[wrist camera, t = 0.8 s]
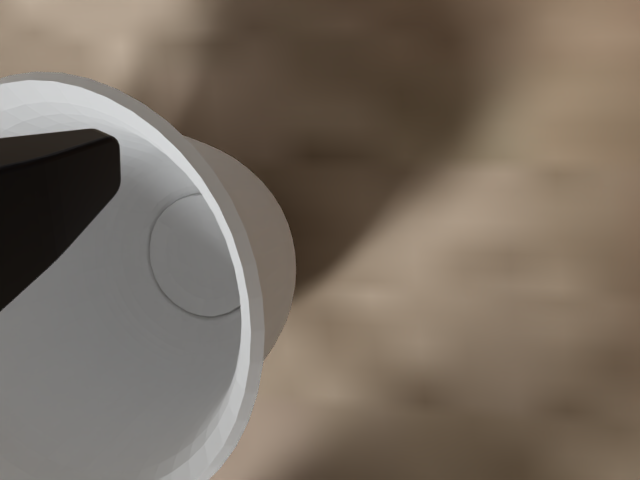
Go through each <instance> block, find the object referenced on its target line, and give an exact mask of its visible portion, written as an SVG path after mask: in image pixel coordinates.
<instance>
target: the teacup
mask: <svg viewBox="0 0 640 480" xmlns="http://www.w3.org/2000/svg"><path fill="white" fill-rule="evenodd" d="M89 128H94V129H98V130H100V131H102V132H105V133H107V134H109V135H111V136H113V137H115V138H116V139H117V140H118V142H119V145H120V162H121V184H120V187H119V190H118V192H117V193H116V195H115V196H114V197H113V199H112V200H111V201H110V202H109V203H108V204H107V205H106V206H105V207H104V209H103V210H102V211H101V212H100V213H99V214H98V215H97V216H96V218H95V219H94V220H93V221H92V222H91V223H90V224H89V225H88V227H87V228H86V229H85V230H84V231H83V232H82V233H81V234H80V235H79V237H78V238H77V239H76V240H75V241H74V242H73V243H72V244H71V246H70V247H69V248H68V249H67V250H66V251H65V252H64V253H63V254H62V255H61V256H60V257H59V258H58V259H57V260H56V261H55V262H54V263H53V264H52V265H51V266H50V267H49V268H48V269H47V270H46V271H45V272H44V273H43V274H41V275H40V276H39V277H38V278H37V279H36V280H35V281H34V282H33V283H32V284H30V285H29V286H28V287H27V288H26V289H25V290H24V291H23V292H22V293H21V294H19V295H18V296H17V297H16V298H15V299H14V300H13V301H12V302H11V303H10V304H8V305H7V306H6V307H5V308H4V309H3V310H2V311H1V312H0V480H209V479H210V478H211V477H212V476H213V475H214V474H215V473H216V472H217V471H218V470H219V469H220V468H221V467H222V465H223V464H224V462H225V461H226V460H227V458H228V457H229V455H230V454H231V453H232V451H233V450H234V448H235V447H236V446H237V443H238V441H239V439H240V437H241V435H242V433H243V431H244V429H245V427H246V425H247V423H248V421H249V418H250V415H251V412H252V409H253V406H254V403H255V400H256V397H257V394H258V389H259V383H260V377H261V372H262V366H263V361H264V359H265V358H266V357H267V355H268V354H269V352H270V351H271V350H272V348H273V347H274V345H275V343H276V341H277V339H278V337H279V335H280V333H281V331H282V329H283V327H284V325H285V323H286V321H287V318H288V315H289V312H290V308H291V305H292V300H293V294H294V289H295V280H296V258H295V250H294V244H293V238H292V235H291V232H290V228H289V225H288V222H287V220H286V218H285V215H284V213H283V211H282V209H281V207H280V205H279V204H278V202H277V200H276V199H275V197H274V196H273V194H272V193H271V192H270V190H269V189H268V188H267V187H266V186H265V184H264V183H263V182H262V181H261V180H260V179H259V178H258V177H257V176H256V175H255V174H254V173H253V172H251V171H250V170H249V169H248V168H247V167H246V166H244V165H243V164H242V163H240V162H239V161H237V160H236V159H235V158H233V157H231V156H230V155H228V154H226V153H224V152H223V151H221V150H219V149H217V148H214V147H212V146H210V145H208V144H205V143H203V142H200V141H198V140H195V139H192V138H190V137H186V136H183V135H182V134H181V133H180V132H178V131H177V130H176V129H175V128H174V127H173V126H172V125H171V124H170V123H169V122H168V121H166V120H165V119H164V118H162V117H161V116H160V115H158V114H157V113H155V112H154V111H153V110H151V109H150V108H149V107H147V106H146V105H145V104H143V103H141V102H140V101H138V100H136V99H134V98H132V97H131V96H129V95H127V94H125V93H123V92H121V91H120V90H118V89H116V88H113V87H110V86H108V85H105V84H102V83H100V82H97V81H95V80H92V79H89V78H85V77H80V76H75V75H70V74H66V73H56V72H30V73H23V74H16V75H10V76H7V77H4V78H0V138H5V137H14V136H23V135H33V134H42V133H52V132H61V131H70V130H80V129H89Z"/></svg>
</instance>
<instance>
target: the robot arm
mask: <svg viewBox="0 0 640 480" xmlns="http://www.w3.org/2000/svg"><path fill="white" fill-rule="evenodd" d="M120 184H121V162H120V145H119V142H118V140H117V139H116V138H115V137H113V136H111V135H109V134H107V133H105V132H102V131H100V130H98V129H94V128H89V129H80V130H70V131H61V132H52V133H42V134H33V135H23V136H14V137H5V138H0V312H1V311H2V310H3V309H4V308H5V307H6V306H7V305H8V304H10V303H11V302H12V301H13V300H14V299H15V298H16V297H17V296H18V295H19V294H21V293H22V292H23V291H24V290H25V289H26V288H27V287H28V286H29V285H30V284H32V283H33V282H34V281H35V280H36V279H37V278H38V277H39V276H40V275H41V274H43V273H44V272H45V271H46V270H47V269H48V268H49V267H50V266H51V265H52V264H53V263H54V262H55V261H56V260H57V259H58V258H59V257H60V256H61V255H62V254H63V253H64V252H65V251H66V250H67V249H68V248H69V247H70V246H71V244H72V243H73V242H74V241H75V240H76V239H77V238H78V237H79V235H80V234H81V233H82V232H83V231H84V230H85V229H86V228H87V227H88V225H89V224H90V223H91V222H92V221H93V220H94V219H95V218H96V216H97V215H98V214H99V213H100V212H101V211H102V210H103V209H104V207H105V206H106V205H107V204H108V203H109V202H110V201H111V200H112V199H113V197H114V196H115V195H116V193H117V192H118V190H119V187H120Z"/></svg>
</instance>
